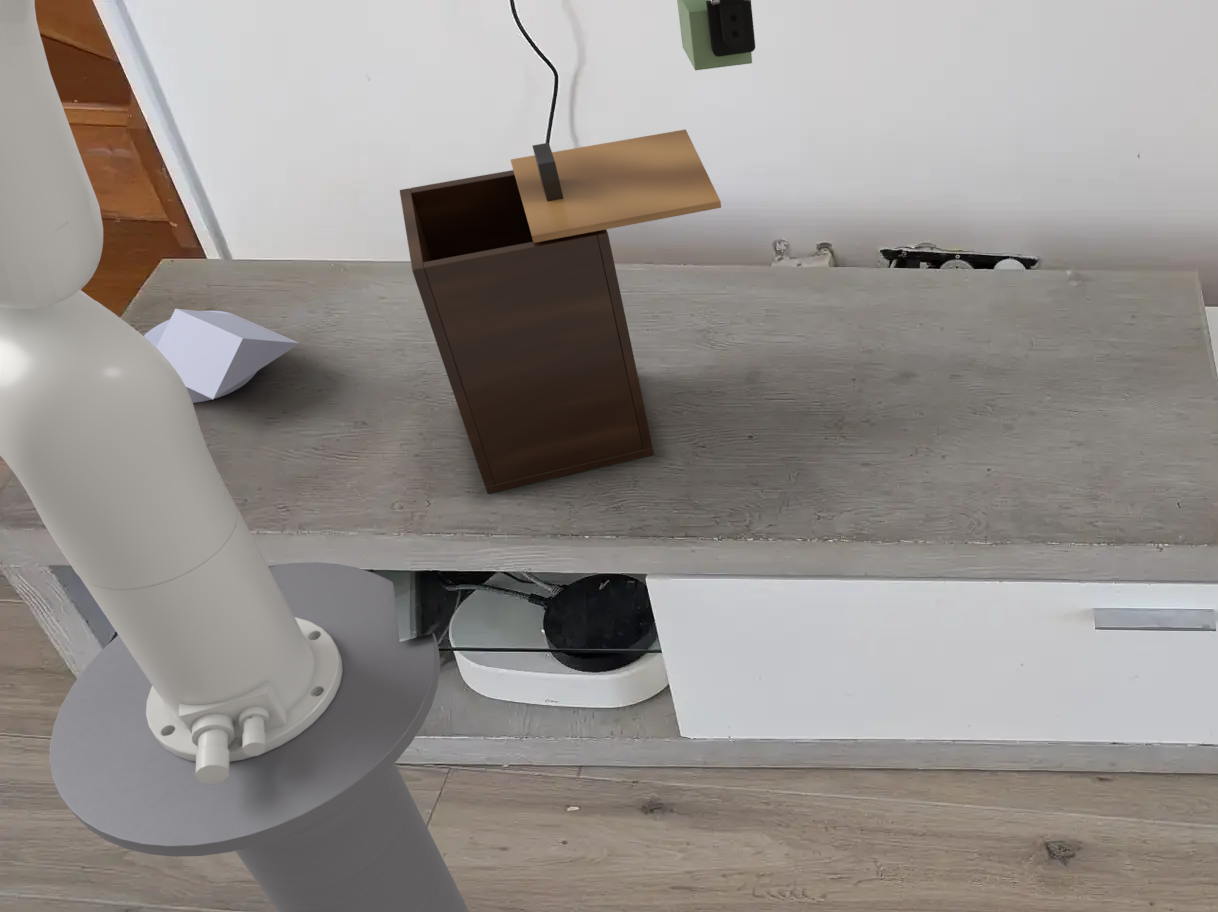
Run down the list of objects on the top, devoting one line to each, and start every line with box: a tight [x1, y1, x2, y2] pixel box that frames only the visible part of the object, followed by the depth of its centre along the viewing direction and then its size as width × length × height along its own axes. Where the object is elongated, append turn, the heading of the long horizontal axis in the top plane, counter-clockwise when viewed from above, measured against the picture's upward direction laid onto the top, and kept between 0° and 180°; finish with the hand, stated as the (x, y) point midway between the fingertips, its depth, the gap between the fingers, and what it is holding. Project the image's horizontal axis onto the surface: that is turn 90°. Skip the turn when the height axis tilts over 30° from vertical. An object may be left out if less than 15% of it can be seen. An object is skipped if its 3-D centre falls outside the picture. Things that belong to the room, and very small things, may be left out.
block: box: [676, 0, 753, 71], centre depth 100 cm, size 4×4×4 cm
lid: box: [510, 129, 722, 243], centre depth 98 cm, size 12×14×4 cm
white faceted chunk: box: [143, 308, 300, 404], centre depth 115 cm, size 9×7×13 cm
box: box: [399, 169, 655, 494], centre depth 105 cm, size 12×14×21 cm
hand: (725, 36), depth 101 cm, fingers closed on block, 4 cm apart
